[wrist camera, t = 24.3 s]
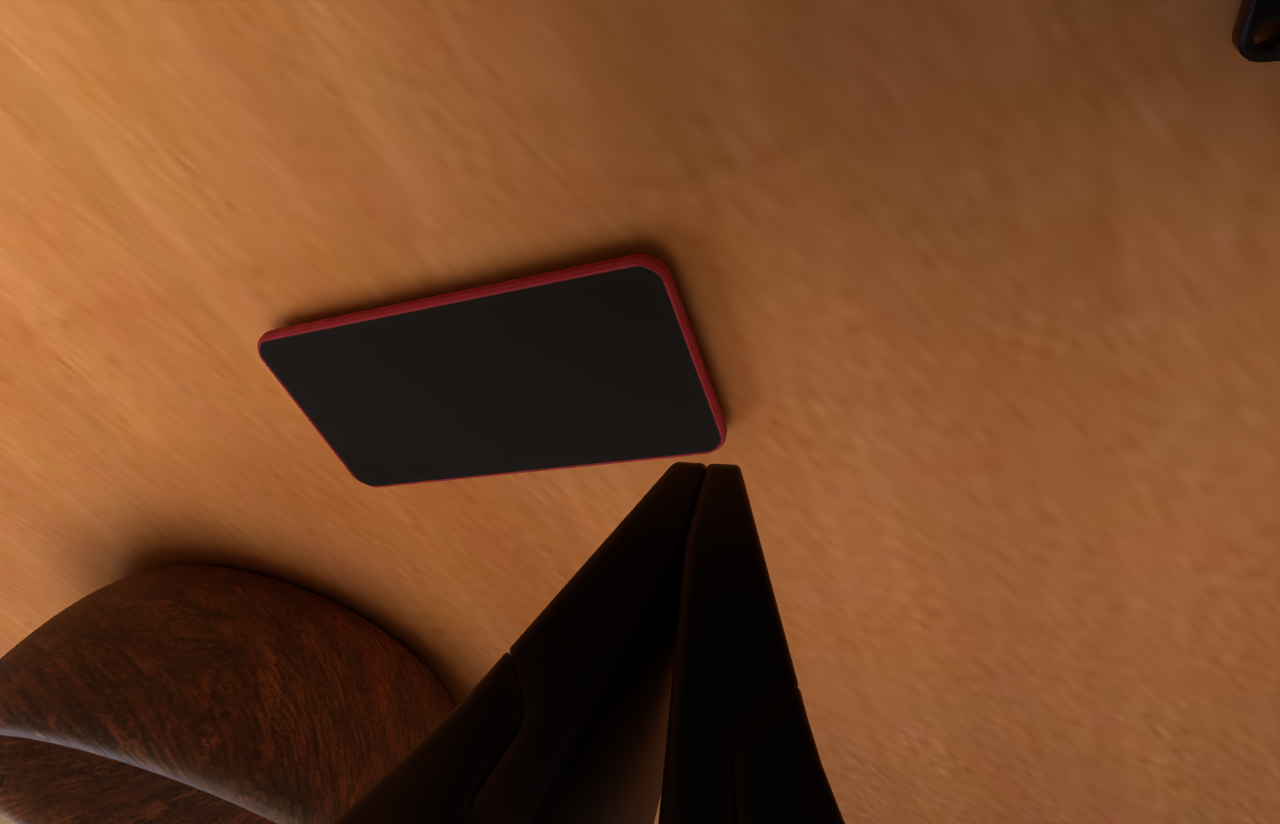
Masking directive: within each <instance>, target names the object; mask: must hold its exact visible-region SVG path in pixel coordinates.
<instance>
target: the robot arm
mask: <svg viewBox="0 0 1280 824" xmlns="http://www.w3.org/2000/svg"><path fill="white" fill-rule="evenodd" d="M1272 21H1279V24H1278V29H1277V30H1276V32H1275V34H1274V35H1273V36H1271V37H1270V38H1269V39H1267V40H1266V41H1262V42H1259V43H1256V42H1254V36H1255V34H1256V33H1257V31H1258V30H1259V29H1260V28H1261V27H1262V26H1264V25H1265V24H1266V23H1269V22H1272ZM1232 43H1233V45H1234V47H1235V49H1236V50H1237V51H1238V52H1239V53H1240V54H1241V55H1242V56H1243V57H1245V58H1246V59H1248V60H1249V61H1254V62H1270V61H1280V0H1243V1H1242V4H1241V7H1240V10H1239V13H1238V17H1237V20H1236V23H1235V26H1234V29H1233V35H1232ZM661 792H662V793H661ZM660 796H661V803H660V814H659V824H845V822H844V820H843V818H842V815H841V813H840V810H839V808H838V805H837V803H836V800H835V797H834V795H833V792H832V790H831V787H830V784H829V782H828V779H827V777H826V774H825V771H824V769H823V766H822V764H821V760H820V757H819V754H818V751H817V747H816V744H815V741H814V738H813V734H812V731H811V728H810V725H809V721H808V718H807V714H806V710H805V707H804V703H803V699H802V695H801V692H800V690H799V688H798V682H797V678H796V674H795V670H794V667H793V663H792V659H791V655H790V652H789V648H788V644H787V640H786V637H785V633H784V629H783V626H782V622H781V618H780V614H779V611H778V607H777V603H776V599H775V596H774V592H773V588H772V584H771V581H770V577H769V573H768V569H767V566H766V562H765V558H764V555H763V551H762V547H761V543H760V540H759V536H758V532H757V528H756V525H755V521H754V517H753V513H752V510H751V506H750V502H749V498H748V495H747V491H746V487H745V484H744V480H743V476H742V472H741V469H740V467H739V466H737V465H729V464H710V465H708V467H706V465H704V464H702V463H687V462H677V463H675V464H673V465H672V466H671V467H670V468H669V469H668V470H667V471H666V472H665V473H664V475H663V476H662V477H661V478H660V479H659V480H658V481H657V483H656V484H655V485H654V486H653V487H652V488H651V489H650V490H649V492H648V493H647V494H646V495H645V496H644V497H643V498H642V500H641V501H640V502H639V503H638V504H637V505H636V506H635V507H634V509H633V510H632V511H631V512H630V513H629V514H628V515H627V516H626V518H625V519H624V520H623V521H622V522H621V523H620V524H619V526H618V527H617V528H616V529H615V530H614V531H613V532H612V533H611V535H610V536H609V537H608V538H607V539H606V540H605V541H604V542H603V544H602V545H601V546H600V547H599V548H598V549H597V550H596V552H595V553H594V554H593V555H592V556H591V557H590V558H589V559H588V561H587V562H586V563H585V564H584V565H583V566H582V567H581V568H580V570H579V571H578V572H577V573H576V574H575V575H574V576H573V578H572V579H571V580H570V581H569V582H568V583H567V584H566V585H565V587H564V588H563V589H562V590H561V591H560V592H559V593H558V594H557V596H556V597H555V598H554V599H553V600H552V601H551V602H550V604H549V605H548V606H547V607H546V608H545V609H544V610H543V611H542V613H541V614H540V615H539V616H538V617H537V618H536V619H535V621H534V622H533V623H532V624H531V625H530V626H529V627H528V628H527V630H526V631H525V632H524V633H523V634H522V635H521V636H520V637H519V639H518V640H517V641H516V642H515V643H514V644H513V645H512V647H511V648H510V654H509V653H505V654H504V655H503V656H502V657H501V659H500V660H499V661H498V662H497V663H496V664H495V665H494V666H493V668H492V669H491V670H490V671H489V672H488V673H487V674H486V676H485V677H484V678H483V679H482V680H481V681H480V682H479V683H478V684H477V685H476V686H475V687H474V688H473V689H472V691H471V692H470V693H469V694H468V695H467V696H466V697H465V698H464V699H463V700H462V701H461V702H460V703H459V704H458V706H457V707H456V708H455V709H454V710H453V711H452V712H451V713H450V714H449V715H448V716H446V717H445V718H444V719H443V720H442V721H441V722H440V723H439V724H438V725H437V726H436V727H435V728H434V729H433V730H432V731H431V732H430V733H429V734H428V735H427V736H426V737H425V738H424V739H423V740H422V741H421V742H420V743H419V744H418V745H416V746H415V747H414V748H413V749H412V750H411V751H410V752H409V753H408V754H407V755H406V756H405V757H404V758H402V759H401V760H400V761H399V762H398V763H397V764H396V765H395V766H394V767H393V768H392V769H391V770H390V771H388V772H387V773H386V774H385V775H384V776H383V777H382V778H381V779H380V780H379V781H378V782H377V783H376V784H374V785H373V786H372V787H371V788H370V789H369V790H368V791H367V792H366V793H365V794H364V795H363V796H361V797H360V798H359V799H358V800H357V801H356V802H355V803H354V804H353V805H352V806H351V807H350V808H349V809H347V810H346V811H345V812H344V813H343V814H342V815H341V816H340V817H339V818H338V819H337V820H336V821H334V822H333V823H332V824H654V820H655V816H656V812H657V808H658V804H659V800H660Z"/></svg>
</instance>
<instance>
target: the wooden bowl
mask: <svg viewBox="0 0 1280 824" xmlns="http://www.w3.org/2000/svg"><path fill="white" fill-rule="evenodd" d="M454 709H455V708H454V706H453V704H452V702H451V700H450V698H449V696H448V694H447V692H446V690H445V689H444V687H443V686H442V684H441V683H440V681H439V680H438V679H437V678H436V676H435V675H434V674H433V673H432V672H431V671H430V670H429V668H428V667H427V666H426V665H425V664H424V663H423V662H422V661H421V660H420V659H418V658H417V657H416V656H415V655H414V654H413V653H412V652H411V651H409V650H408V649H407V648H406V647H404V646H403V645H402V644H401V643H399V642H398V641H397V640H395V639H394V638H393V637H391V636H390V635H388V634H387V633H386V632H384V631H383V630H381V629H380V628H378V627H376V626H375V625H373V624H372V623H370V622H369V621H367V620H365V619H363V618H362V617H360V616H358V615H356V614H355V613H353V612H351V611H349V610H347V609H345V608H343V607H341V606H339V605H337V604H335V603H333V602H331V601H329V600H327V599H325V598H323V597H320V596H318V595H316V594H314V593H311V592H309V591H306V590H304V589H301V588H299V587H296V586H293V585H290V584H288V583H285V582H282V581H279V580H276V579H272V578H269V577H266V576H262V575H259V574H254V573H250V572H246V571H242V570H237V569H231V568H226V567H218V566H211V565H176V566H168V567H160V568H153V569H149V570H145V571H142V572H139V573H137V574H134V575H131V576H129V577H126V578H123V579H121V580H118V581H116V582H113V583H111V584H109V585H107V586H105V587H103V588H101V589H99V590H97V591H95V592H93V593H91V594H89V595H87V596H85V597H84V598H82V599H80V600H79V601H77V602H76V603H74V604H72V605H71V606H69V607H68V608H66V609H65V610H63V611H61V612H60V613H58V614H57V615H55V616H54V617H52V618H51V619H50V620H48V621H47V622H46V623H44V624H43V625H42V626H40V627H39V628H38V629H36V630H35V631H34V632H32V633H31V634H30V635H28V636H27V637H26V638H25V639H24V640H22V641H21V642H20V643H19V644H17V645H16V646H15V647H14V648H13V649H11V650H10V651H9V652H8V653H7V654H5V655H4V656H3V657H2V658H1V659H0V813H1V814H2V815H4V816H6V817H7V818H9V819H11V820H12V821H14V822H15V823H17V824H332V823H333V822H334V821H336V820H337V819H338V818H339V817H340V816H341V815H342V814H343V813H344V812H345V811H346V810H347V809H349V808H350V807H351V806H352V805H353V804H354V803H355V802H356V801H357V800H358V799H359V798H360V797H361V796H363V795H364V794H365V793H366V792H367V791H368V790H369V789H370V788H371V787H372V786H373V785H374V784H376V783H377V782H378V781H379V780H380V779H381V778H382V777H383V776H384V775H385V774H386V773H387V772H388V771H390V770H391V769H392V768H393V767H394V766H395V765H396V764H397V763H398V762H399V761H400V760H401V759H402V758H404V757H405V756H406V755H407V754H408V753H409V752H410V751H411V750H412V749H413V748H414V747H415V746H416V745H418V744H419V743H420V742H421V741H422V740H423V739H424V738H425V737H426V736H427V735H428V734H429V733H430V732H431V731H432V730H433V729H434V728H435V727H436V726H437V725H438V724H439V723H440V722H441V721H442V720H443V719H444V718H445V717H446V716H448V715H449V714H450V713H451V712H452V711H453V710H454Z"/></svg>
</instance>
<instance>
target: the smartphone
mask: <svg viewBox="0 0 1280 824" xmlns="http://www.w3.org/2000/svg"><path fill="white" fill-rule="evenodd" d="M258 351H259V355H260V357H261V359H262V361H263V362H264V363H265V364H266V366H267V367H268V368H269V370H270V371H271V372H272V373H273V375H274V376H275V377H276V379H277V380H278V381H279V382H280V384H281V385H282V386H283V387H284V389H285V390H286V391H287V393H288V394H289V395H290V396H291V398H292V399H293V400H294V402H295V403H296V404H297V405H298V407H299V408H300V409H301V411H302V412H303V413H304V414H305V416H306V417H307V418H308V420H309V421H310V422H311V423H312V425H313V426H314V427H315V428H316V430H317V431H318V432H319V434H320V435H321V436H322V437H323V439H324V440H325V441H326V443H327V444H328V445H329V446H330V448H331V449H332V450H333V452H334V453H335V454H336V455H337V457H338V458H339V459H340V461H341V462H342V463H343V464H344V466H345V467H346V468H347V469H348V471H349V472H350V473H351V475H352V476H353V477H354V478H355V479H357V480H358V481H360V482H362V483H364V484H366V485H369V486H372V487H387V486H397V485H407V484H416V483H426V482H436V481H446V480H456V479H465V478H475V477H485V476H495V475H504V474H514V473H524V472H534V471H543V470H553V469H563V468H573V467H583V466H592V465H602V464H612V463H622V462H631V461H641V460H651V459H661V458H670V457H680V456H690V455H700V454H708V453H711V452H713V451H716V450H717V449H719V448H720V447H721V446H722V445H723V444H724V442H725V439H726V435H727V427H726V423H725V420H724V418H723V415H722V412H721V409H720V407H719V404H718V401H717V398H716V396H715V393H714V390H713V387H712V384H711V382H710V379H709V376H708V373H707V371H706V368H705V365H704V362H703V360H702V357H701V354H700V351H699V348H698V346H697V343H696V340H695V337H694V335H693V332H692V329H691V326H690V324H689V321H688V318H687V315H686V313H685V310H684V307H683V304H682V301H681V299H680V296H679V293H678V290H677V288H676V285H675V282H674V279H673V277H672V275H671V273H670V271H669V269H668V268H667V267H666V265H665V264H664V263H663V262H662V261H660V260H659V259H657V258H655V257H653V256H651V255H646V254H633V255H628V256H624V257H619V258H614V259H609V260H604V261H600V262H595V263H590V264H585V265H581V266H576V267H571V268H566V269H561V270H557V271H552V272H547V273H542V274H537V275H533V276H528V277H523V278H518V279H514V280H509V281H504V282H499V283H494V284H490V285H485V286H480V287H475V288H470V289H466V290H461V291H456V292H451V293H447V294H442V295H437V296H432V297H427V298H423V299H418V300H413V301H408V302H404V303H399V304H394V305H389V306H384V307H380V308H375V309H370V310H365V311H360V312H356V313H351V314H346V315H341V316H337V317H332V318H327V319H322V320H317V321H313V322H308V323H303V324H298V325H293V326H289V327H284V328H279V329H275V330H271V331H268V332H266V333H265V334H264V335H263V336H262V337H261V338H260V339H259V341H258Z"/></svg>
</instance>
